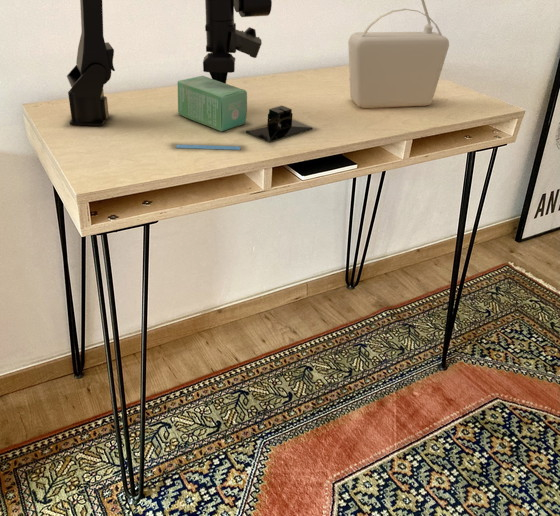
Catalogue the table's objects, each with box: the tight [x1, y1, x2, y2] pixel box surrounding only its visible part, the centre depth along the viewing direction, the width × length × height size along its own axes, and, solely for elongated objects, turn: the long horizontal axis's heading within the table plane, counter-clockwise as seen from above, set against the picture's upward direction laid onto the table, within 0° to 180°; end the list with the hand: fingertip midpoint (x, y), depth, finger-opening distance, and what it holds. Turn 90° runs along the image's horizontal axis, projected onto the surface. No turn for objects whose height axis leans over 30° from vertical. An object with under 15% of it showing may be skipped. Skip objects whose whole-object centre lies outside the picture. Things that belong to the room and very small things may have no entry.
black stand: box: [245, 105, 313, 144], centre depth 126 cm, size 12×7×5 cm, turn 134°
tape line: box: [175, 144, 241, 151], centre depth 118 cm, size 12×2×1 cm, turn 92°
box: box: [177, 75, 248, 132], centre depth 129 cm, size 7×14×8 cm, turn 49°
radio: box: [347, 0, 450, 109], centre depth 140 cm, size 22×8×25 cm, turn 104°
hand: (221, 93), depth 136 cm, fingers closed
